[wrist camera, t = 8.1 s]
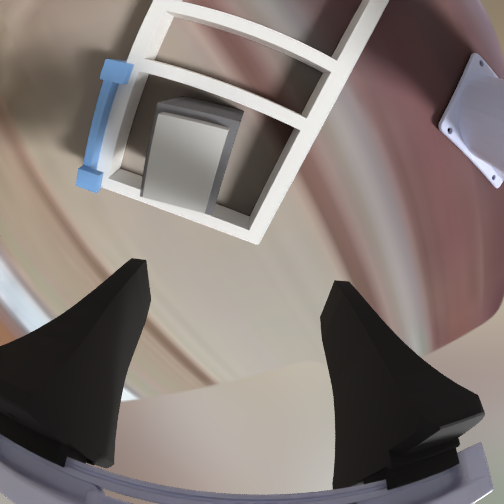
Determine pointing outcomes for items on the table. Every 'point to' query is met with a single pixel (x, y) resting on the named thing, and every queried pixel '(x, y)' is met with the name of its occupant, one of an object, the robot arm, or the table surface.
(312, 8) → the table surface
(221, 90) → the white cubby shelf
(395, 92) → the table surface
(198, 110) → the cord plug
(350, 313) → the robot arm
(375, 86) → the table surface
